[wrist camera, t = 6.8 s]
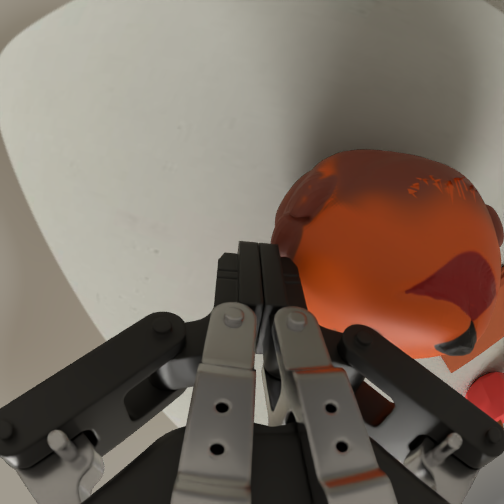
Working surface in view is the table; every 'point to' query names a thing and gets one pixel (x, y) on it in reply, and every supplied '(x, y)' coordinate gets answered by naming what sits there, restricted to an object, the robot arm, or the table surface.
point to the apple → (489, 395)
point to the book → (498, 327)
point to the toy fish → (394, 249)
